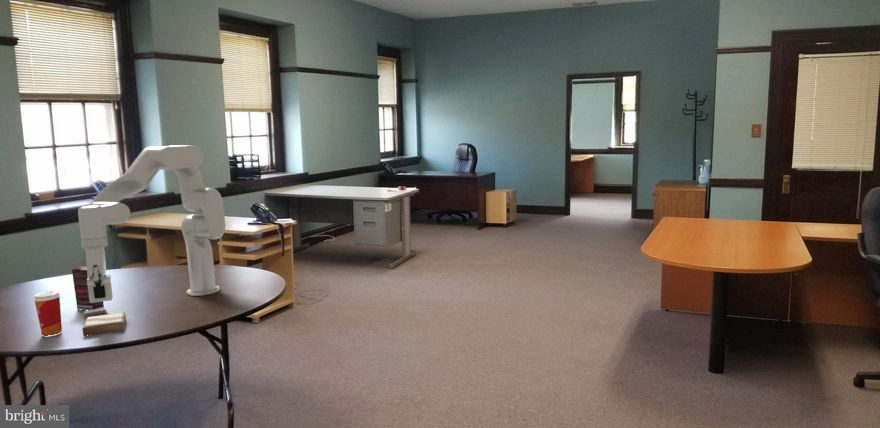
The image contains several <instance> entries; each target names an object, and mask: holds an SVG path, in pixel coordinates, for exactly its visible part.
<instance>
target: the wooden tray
mask: <svg viewBox="0 0 880 428" xmlns="http://www.w3.org/2000/svg"><path fill="white" fill-rule="evenodd" d="M126 315H127V314H126V312H125V311H124V312H123V311H122V312H116V313H108V314H107V315H100V316H93V317H87V318H86V320H85V319H84V322H83V325H82V327H81V328H82V335H83V336H86V337H91V336H90V335H92V336H98V334H99V335H104V334H111V332H112V333H118V331H119V332H123V331H125V329H126V328H125V327H126V322H127V317H126ZM87 335H88V336H87Z"/></svg>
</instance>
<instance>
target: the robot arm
mask: <svg viewBox="0 0 880 428" xmlns="http://www.w3.org/2000/svg"><path fill="white" fill-rule="evenodd" d="M203 161H204V154H203V151H202V150H201V148H200V147H198V146H197V145H192V144H191V145H189V144H188V145H187V144H186V145H185V144H184V145H182V144H181V145H179V144H174V145H173V144H172V145H162V146H161V145H159V146H156V145H155V146H152V145H151V146H147V147H145V148H143V150H141V151H140V153H138V156H137V157H136V158H135V159H134V161H133V162H132V163H131V165H130V166H129V167H128V169H127V170H126V171H125V172H124V174H122V175H121V176H119V177H118V178H116V179H115V180H113V181H112V182H110V183H109V184H107V185H106V186H104V188H102V189H101V190H100V191H99V192H98V193H97V194H96V196H95V197H94V199H93V200H92V201H91V203H90V204H89V205H83V206H80V207H79V208H78V210H77V215H78V217H77V218H78V224H79V230H80V231H79V232H80V240H81V249H83V250H85V258H86V259H85V260H86V263H85V264H86V267H87V275H88V278H89V279H90V278H91V277H92V275H93V284H94V287H93V288H94V297H95V299H97V298H105V296H106V295H105V287H104V286H103V277H104V275H106V273H107V262H106V261H107V260H106V251H105V248H106V247H108V245H109V244H108V237H107V235H108V234H107V227H106V226H110V225H121V224H123V223H125V222H127V221H128V220H129V218H130V217H131V210H130V208H129V206H128V205H127V204H125V203H123V202H121V201H122V200H124V199H125V198H127V197H131V196H134V195H135V194H138V193H140V192H143V191H144V190H146V189H147V188H148V186H149V185H150V184H151V182H152V181H153V179H154V178H155V177H156V175H157V174H158V173H159V171H160V170H163V171H165V170H167V171H169V170H170V171H171V170H172V171H173V172H174V173H175V174H176V176H177V178H178V183H179V191H180V197H181V199H180V200H181V203H182V206H183V209H185V210H186V211H189V212H196V213H194V214H188V215H187V216H185V217H184V218H183V219H182V221H181V226H180V227H181V232H182V235H183V239H184V243H185V249H186V258H187V270H188V276H189V288H188V289H187V290H186V294H187V295H188V296H192V297H194V296H195V297H199V296H202V297H203V296H207V295H212V294H215V293H218V292H219V291H220V290H221V287H220V286H219V285H216V277H215V267H214V257H213V255H214V254H213V248H212V244H211V241H210V240H218V239H220V238H222V237H223V236H224V234H225V231H226V219H225V209H224V201H223V197H222V195H221V193H220V192H219V191H218V190H217V189H215V188H213V187H205V186H204V183H203V179H202V178H203V177H202V173H201V171H200V169H199V166H201V164H202V162H203ZM198 212H199V213H200V212H201V213H203V214H199V213H198ZM99 275H101V277H99ZM100 279H101V280H100Z"/></svg>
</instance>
